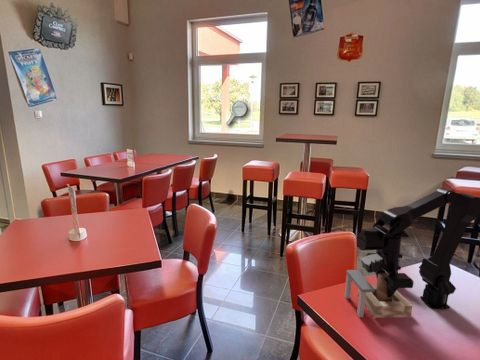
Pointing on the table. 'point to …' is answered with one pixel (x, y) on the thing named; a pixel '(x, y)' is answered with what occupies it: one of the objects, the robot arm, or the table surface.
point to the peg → (382, 288)
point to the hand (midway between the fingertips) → (384, 292)
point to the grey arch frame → (361, 284)
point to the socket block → (387, 305)
